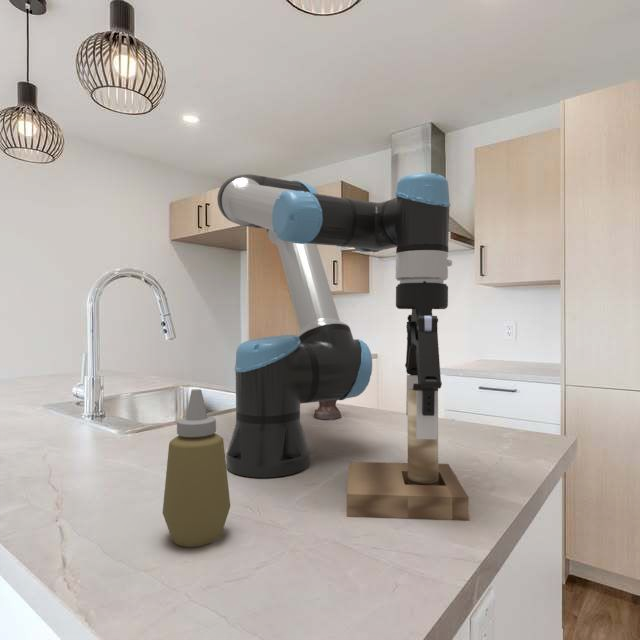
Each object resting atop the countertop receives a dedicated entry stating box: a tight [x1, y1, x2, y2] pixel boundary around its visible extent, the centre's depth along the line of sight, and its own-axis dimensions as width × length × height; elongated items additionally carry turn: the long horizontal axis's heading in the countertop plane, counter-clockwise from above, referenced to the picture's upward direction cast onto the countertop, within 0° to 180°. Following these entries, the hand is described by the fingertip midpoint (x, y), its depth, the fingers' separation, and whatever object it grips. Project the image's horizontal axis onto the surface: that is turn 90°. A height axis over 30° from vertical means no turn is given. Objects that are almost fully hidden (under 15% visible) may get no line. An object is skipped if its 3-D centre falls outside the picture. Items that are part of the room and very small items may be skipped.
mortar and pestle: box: [313, 400, 342, 421], centre depth 125 cm, size 12×9×20 cm
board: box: [346, 461, 470, 521], centre depth 68 cm, size 16×14×3 cm
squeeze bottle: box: [162, 388, 231, 548], centre depth 56 cm, size 8×8×18 cm
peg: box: [406, 388, 439, 486], centre depth 68 cm, size 4×4×16 cm
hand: (420, 426), depth 68 cm, fingers open, 13 cm apart
